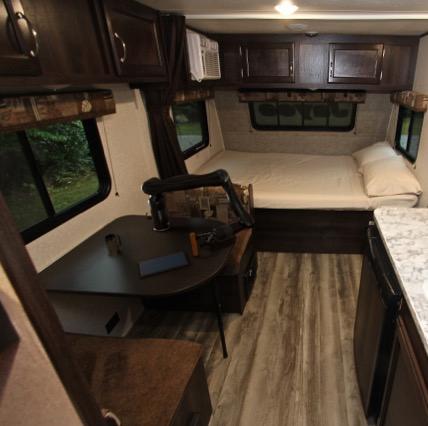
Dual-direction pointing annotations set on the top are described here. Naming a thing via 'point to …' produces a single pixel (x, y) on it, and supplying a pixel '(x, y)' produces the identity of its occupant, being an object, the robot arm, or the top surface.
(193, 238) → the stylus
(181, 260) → the tablet
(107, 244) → the mug
